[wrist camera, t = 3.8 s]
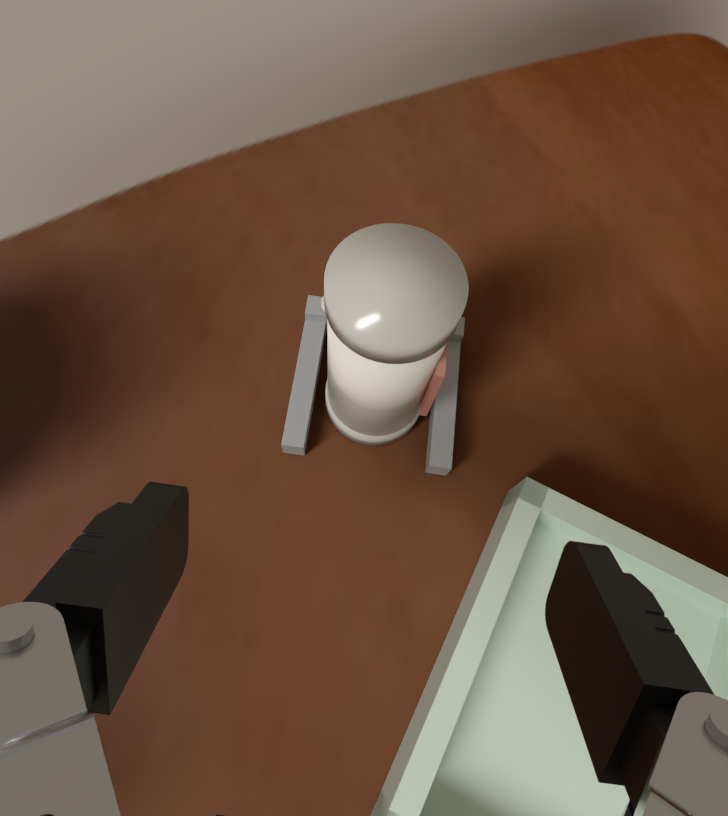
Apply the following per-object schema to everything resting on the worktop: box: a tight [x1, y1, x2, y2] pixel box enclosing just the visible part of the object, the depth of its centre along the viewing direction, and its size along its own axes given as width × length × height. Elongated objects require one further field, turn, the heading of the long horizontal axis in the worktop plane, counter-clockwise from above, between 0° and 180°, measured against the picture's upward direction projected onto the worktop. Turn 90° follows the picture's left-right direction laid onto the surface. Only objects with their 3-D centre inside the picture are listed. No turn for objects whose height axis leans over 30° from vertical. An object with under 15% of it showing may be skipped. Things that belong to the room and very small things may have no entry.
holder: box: [281, 295, 465, 476], centre depth 26 cm, size 7×8×2 cm
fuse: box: [324, 223, 469, 446], centre depth 22 cm, size 5×5×10 cm
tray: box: [371, 477, 728, 816], centre depth 21 cm, size 14×11×3 cm
